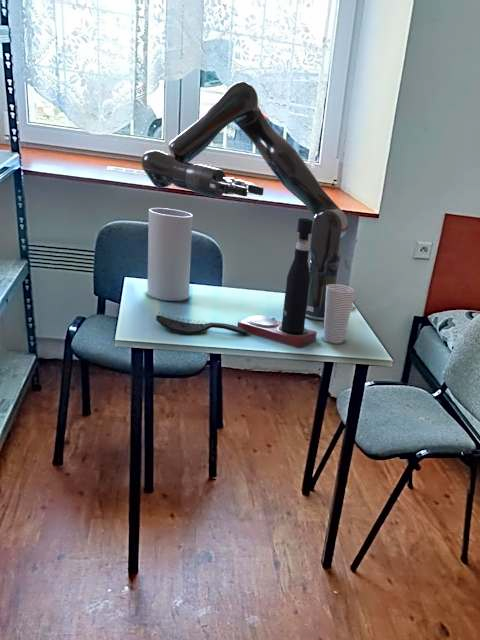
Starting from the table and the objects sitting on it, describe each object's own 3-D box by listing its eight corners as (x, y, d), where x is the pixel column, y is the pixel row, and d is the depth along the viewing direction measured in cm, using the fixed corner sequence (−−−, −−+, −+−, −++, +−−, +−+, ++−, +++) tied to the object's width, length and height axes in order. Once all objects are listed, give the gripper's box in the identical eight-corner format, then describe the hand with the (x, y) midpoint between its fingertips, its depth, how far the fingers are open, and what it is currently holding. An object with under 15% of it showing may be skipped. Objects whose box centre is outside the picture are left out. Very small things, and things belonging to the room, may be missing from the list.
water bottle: (307, 329, 190) (321, 221, 176) (298, 334, 184) (312, 223, 170) (287, 324, 191) (299, 216, 177) (277, 329, 186) (289, 218, 172)
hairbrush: (250, 329, 181) (156, 317, 173) (248, 342, 183) (155, 330, 175) (246, 320, 188) (156, 308, 180) (245, 332, 190) (155, 321, 182)
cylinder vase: (188, 303, 203) (192, 218, 191) (146, 299, 200) (147, 212, 188) (188, 293, 213) (192, 212, 202) (148, 288, 210) (150, 206, 198)
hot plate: (258, 321, 199) (259, 312, 197) (317, 338, 193) (318, 329, 192) (237, 329, 189) (238, 319, 187) (298, 347, 183) (299, 338, 182)
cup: (344, 347, 190) (353, 294, 183) (316, 341, 191) (323, 288, 183) (349, 339, 198) (357, 287, 190) (321, 333, 198) (329, 282, 191)
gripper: (191, 166, 178) (242, 177, 174) (220, 166, 190) (269, 177, 186) (190, 195, 182) (240, 207, 177) (218, 193, 194) (266, 205, 189)
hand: (254, 191), depth 182 cm, fingers open, 8 cm apart
